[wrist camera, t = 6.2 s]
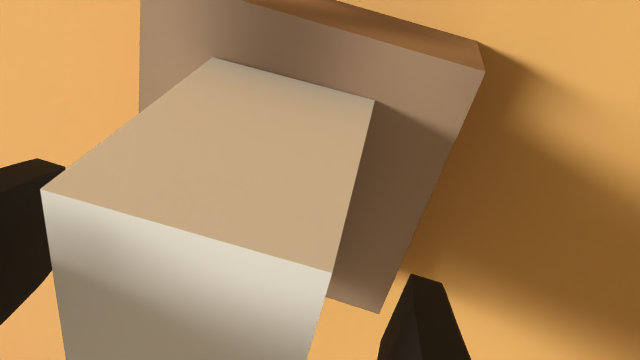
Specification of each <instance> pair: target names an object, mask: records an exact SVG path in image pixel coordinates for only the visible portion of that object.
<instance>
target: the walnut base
mask: <svg viewBox="0 0 640 360" xmlns="http://www.w3.org/2000/svg"><path fill="white" fill-rule="evenodd" d="M212 57H214V58H218V59H221V60H225V61H229V62H233V63H236V64H240V65H244V66H248V67H252V68H255V69H259V70H263V71H267V72H270V73H274V74H278V75H282V76H285V77H289V78H293V79H297V80H300V81H304V82H308V83H312V84H316V85H319V86H323V87H327V88H331V89H334V90H338V91H342V92H346V93H349V94H353V95H357V96H361V97H365V98H368V99H372V100H375V102H374V106H373V110H372V114H371V118H370V122H369V126H368V130H367V134H366V138H365V143H364V147H363V151H362V155H361V159H360V163H359V167H358V171H357V175H356V179H355V183H354V187H353V191H352V195H351V199H350V203H349V207H348V211H347V215H346V219H345V223H344V227H343V231H342V235H341V240H340V244H339V248H338V252H337V256H336V260H335V264H334V268H333V272H332V275H331V279H330V282H329V286H328V289H327V292H326V296H325V297H328V298H331V299H334V300H337V301H340V302H343V303H346V304H349V305H352V306H355V307H358V308H362V309H365V310H368V311H371V312H374V313H377V314H379V313H380V311H381V308H382V306H383V304H384V301H385V299H386V297H387V295H388V292H389V290H390V288H391V286H392V283H393V281H394V279H395V277H396V274H397V272H398V270H399V267H400V265H401V263H402V261H403V258H404V256H405V254H406V252H407V249H408V247H409V245H410V243H411V240H412V238H413V236H414V234H415V231H416V229H417V227H418V224H419V222H420V220H421V218H422V215H423V213H424V211H425V209H426V206H427V204H428V202H429V200H430V197H431V195H432V193H433V190H434V188H435V186H436V184H437V181H438V179H439V177H440V175H441V172H442V170H443V168H444V166H445V163H446V161H447V159H448V157H449V154H450V152H451V150H452V147H453V145H454V143H455V141H456V138H457V136H458V134H459V132H460V129H461V127H462V125H463V123H464V120H465V118H466V116H467V113H468V111H469V109H470V107H471V104H472V102H473V100H474V98H475V95H476V93H477V91H478V89H479V86H480V84H481V82H482V79H483V77H484V75H485V73H486V71H485V67H484V64H483V60H482V57H481V53H480V50H479V46H478V43H477V41H474V40H471V39H467V38H464V37H461V36H457V35H454V34H450V33H447V32H443V31H440V30H436V29H433V28H429V27H426V26H423V25H419V24H416V23H412V22H409V21H405V20H402V19H398V18H395V17H391V16H388V15H385V14H381V13H378V12H374V11H371V10H367V9H364V8H360V7H357V6H353V5H350V4H346V3H343V2H340V1H336V0H141V8H140V71H139V113H140V112H142V111H143V110H144V109H145V108H147V107H148V106H149V105H151V104H152V103H153V102H155V101H156V100H157V99H158V98H160V97H161V96H162V95H164V94H165V93H166V92H168V91H169V90H170V89H172V88H173V87H174V86H175V85H177V84H178V83H179V82H181V81H182V80H183V79H185V78H186V77H187V76H189V75H190V74H191V73H192V72H194V71H195V70H196V69H198V68H199V67H200V66H202V65H203V64H204V63H206V62H207V61H208V60H209V59H211V58H212Z"/></svg>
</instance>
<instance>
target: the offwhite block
mask: <svg viewBox="0 0 640 360" xmlns="http://www.w3.org/2000/svg"><path fill="white" fill-rule="evenodd" d="M374 102H375V100H372V99H368V98H365V97H361V96H357V95H353V94H349V93H346V92H342V91H338V90H334V89H331V88H327V87H323V86H319V85H316V84H312V83H308V82H304V81H300V80H297V79H293V78H289V77H285V76H282V75H278V74H274V73H270V72H267V71H263V70H259V69H255V68H252V67H248V66H244V65H240V64H236V63H233V62H229V61H225V60H221V59H218V58H214V57H212V58H211V59H209V60H208V61H207V62H206V63H204V64H203V65H202V66H200V67H199V68H198V69H196V70H195V71H194V72H192V73H191V74H190V75H189V76H187V77H186V78H185V79H183V80H182V81H181V82H179V83H178V84H177V85H175V86H174V87H173V88H172V89H170V90H169V91H168V92H166V93H165V94H164V95H162V96H161V97H160V98H158V99H157V100H156V101H155V102H153V103H152V104H151V105H149V106H148V107H147V108H145V109H144V110H143V111H142V112H140V113H139V114H138V115H136V116H135V117H134V118H132V119H131V120H130V121H128V122H127V123H126V124H125V125H123V126H122V127H121V128H119V129H118V130H117V131H115V132H114V133H113V134H111V135H110V136H109V137H108V138H106V139H105V140H104V141H102V142H101V143H100V144H98V145H97V146H96V147H94V148H93V149H92V150H91V151H89V152H88V153H87V154H85V155H84V156H83V157H81V158H80V159H79V160H78V161H76V162H75V163H74V164H72V165H71V166H70V167H68V168H67V169H66V170H64V171H63V172H62V173H61V174H59V175H58V176H57V177H55V178H54V179H53V180H51V181H50V182H49V183H47V184H46V185H45V186H44V187H42V188H41V189H40V192H41V198H42V205H43V211H44V218H45V225H46V231H47V238H48V244H49V251H50V257H51V264H52V271H53V277H54V284H55V290H56V297H57V303H58V310H59V317H60V323H61V330H62V336H63V343H64V349H65V356H66V360H307V357H308V353H309V350H310V347H311V343H312V340H313V337H314V333H315V330H316V326H317V323H318V320H319V316H320V313H321V309H322V306H323V303H324V299H325V296H326V292H327V289H328V286H329V282H330V279H331V275H332V272H333V268H334V264H335V260H336V256H337V252H338V248H339V244H340V240H341V235H342V231H343V227H344V223H345V219H346V215H347V211H348V207H349V203H350V199H351V195H352V191H353V187H354V183H355V179H356V175H357V171H358V167H359V163H360V159H361V155H362V151H363V147H364V143H365V138H366V134H367V130H368V126H369V122H370V118H371V114H372V110H373V106H374Z"/></svg>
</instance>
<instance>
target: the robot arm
mask: <svg viewBox="0 0 640 360" xmlns="http://www.w3.org/2000/svg"><path fill="white" fill-rule="evenodd" d="M64 170H65V167H64V166H61V165H57V164H54V163H51V162H48V161H44V160H41V159H38V158H37V159H33V160H29V161H25V162H21V163H17V164H13V165H10V166H7V167H3V168H0V325H1V324H2V323H3V322H4V321H5V320H6V319H7V318H8V317H9V316H10V315H11V314H12V313H13V312H14V311H15V310H16V309H17V308H18V307H19V306H20V305H21V304H22V303H23V302H24V301H25V300H26V299H27V298H28V297H29V296H30V295H31V294H32V293H33V292H34V291H35V290H36V289H37V288H38V287H39V285H40V284H41V283H42V282H43V281H44V280H45V278H46V277H47V276H48V275H49V273H50V272H51V271H52V264H51V257H50V251H49V244H48V238H47V231H46V225H45V218H44V211H43V205H42V198H41V192H40V189H41V188H42V187H44V186H45V185H46V184H47V183H49V182H50V181H51V180H53V179H54V178H55V177H57V176H58V175H59V174H61V173H62V172H63V171H64ZM377 360H471V358H470V355H469V353H468V351H467V348H466V345H465V343H464V340H463V338H462V335H461V333H460V330H459V327H458V325H457V322H456V319H455V316H454V314H453V311H452V308H451V305H450V302H449V300H448V297H447V294H446V291H445V289H444V287H443V285H442V283H440V282H436V281H433V280H430V279H427V278H423V277H420V276H417V275H414V274H410V277H409V279H408V281H407V283H406V286H405V288H404V290H403V292H402V294H401V297H400V299H399V301H398V303H397V306H396V308H395V310H394V312H393V315H392V317H391V319H390V321H389V323H388V326H387V328H386V330H385V332H384V335H383V337H382V339H381V342H380V348H379V353H378V359H377Z"/></svg>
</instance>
